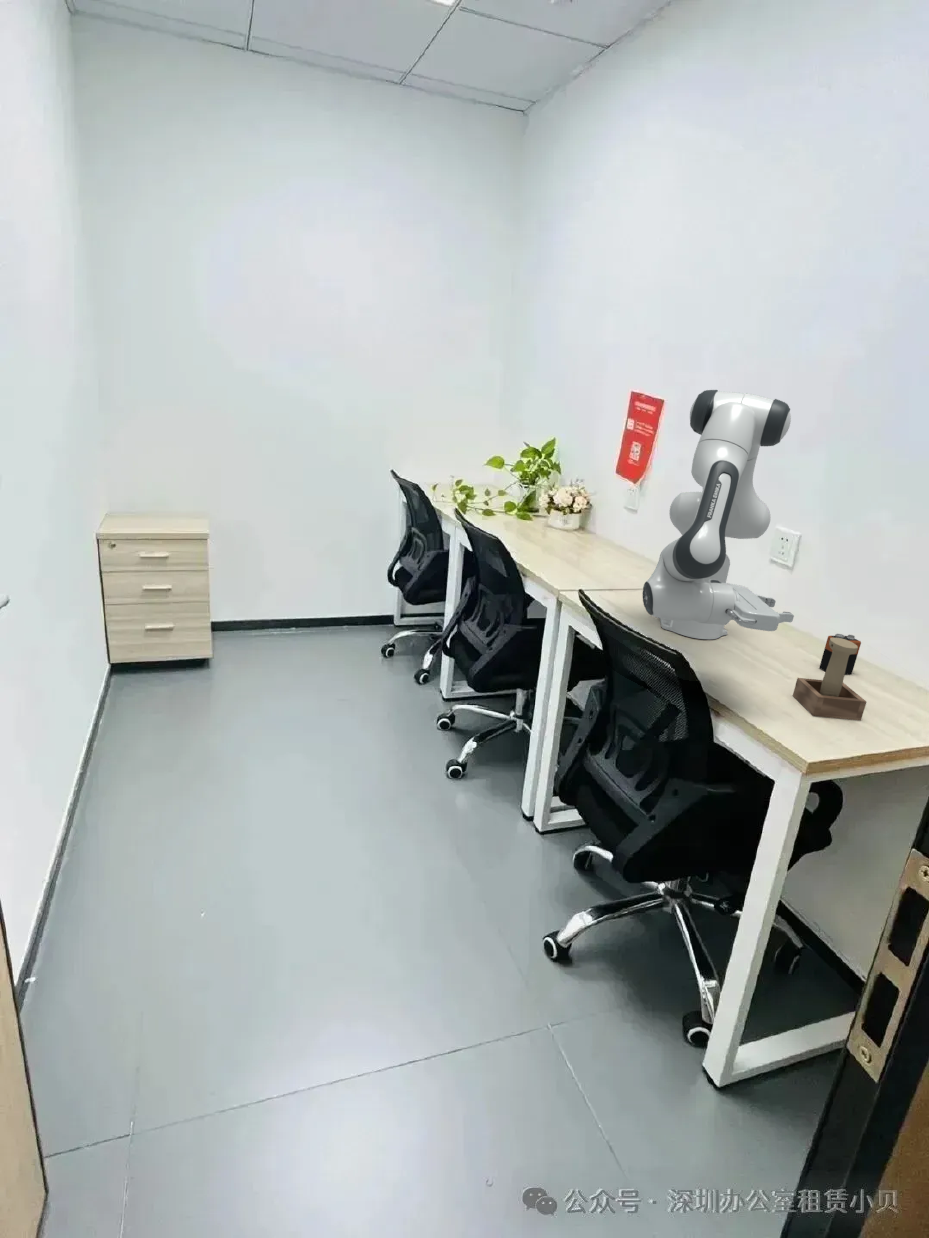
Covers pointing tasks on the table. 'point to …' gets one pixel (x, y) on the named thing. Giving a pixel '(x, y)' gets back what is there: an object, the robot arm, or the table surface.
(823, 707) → the brown square open box
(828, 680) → the handle
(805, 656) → the table surface
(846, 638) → the battery
